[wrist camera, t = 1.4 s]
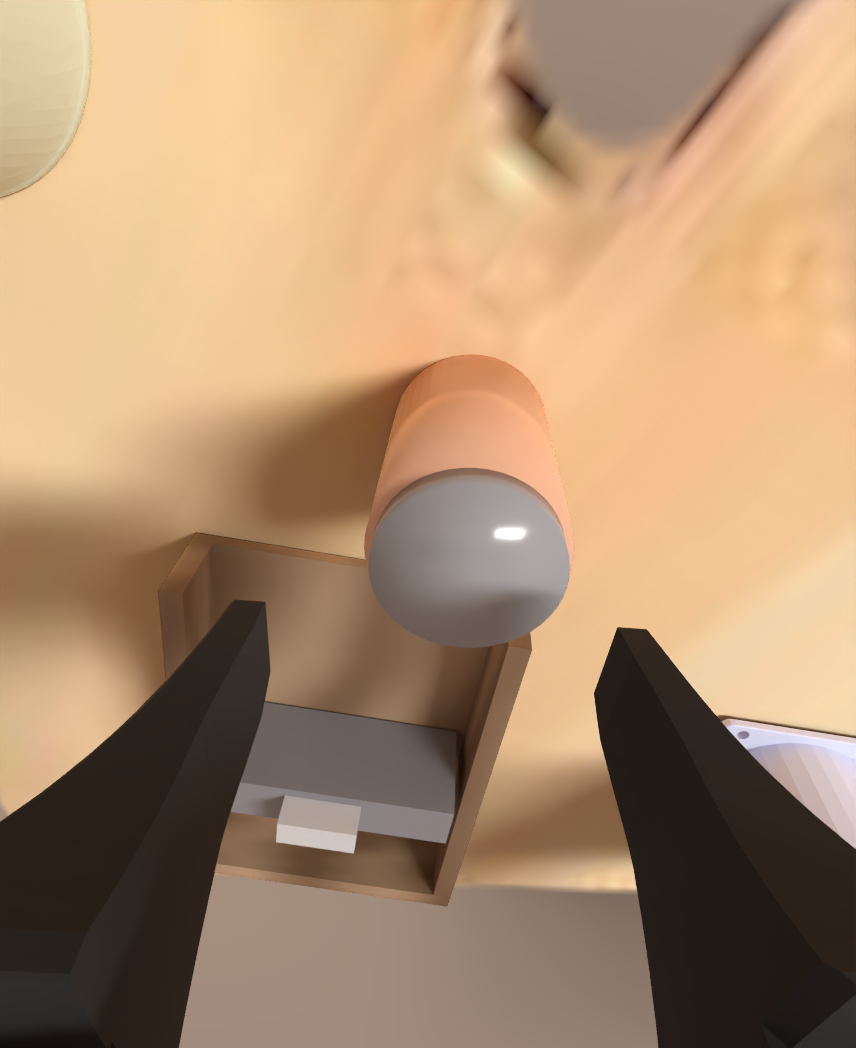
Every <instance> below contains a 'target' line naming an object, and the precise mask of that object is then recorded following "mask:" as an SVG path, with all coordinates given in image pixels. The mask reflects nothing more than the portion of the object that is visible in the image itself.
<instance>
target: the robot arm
mask: <svg viewBox="0 0 856 1048" xmlns="http://www.w3.org/2000/svg"><path fill="white" fill-rule="evenodd" d="M270 672H271V669H270V656H269V642H268V629H267V616H266V603H265V602H262V601H248V600H234V601H232V602H231V603H230V604H229V605H228V607H227V608H226V609H225V611H224V612H223V613H222V615H221V616H220V617H219V619H218V620H217V621H216V623H215V624H214V625H213V626H212V628H211V629H210V630H209V631H208V633H207V634H206V635H205V636H204V638H203V639H202V640H201V641H200V642H199V644H198V645H197V646H196V647H195V649H194V650H193V651H192V652H191V653H190V654H189V655H188V657H187V658H186V659H185V660H184V661H183V662H182V663H181V665H180V666H179V667H178V668H177V669H176V670H175V671H174V673H173V674H172V675H171V676H170V677H169V678H168V679H167V680H166V681H165V683H164V684H163V685H162V686H161V687H160V688H159V689H158V690H157V691H156V692H155V693H154V694H153V695H152V696H151V697H150V698H149V699H148V700H147V701H146V702H145V703H144V704H143V705H142V706H141V707H140V708H139V709H138V710H137V711H136V712H135V713H134V714H133V715H132V716H131V717H130V718H129V719H128V720H127V721H126V722H125V723H124V724H123V725H122V726H121V727H120V728H119V729H117V730H116V731H115V732H114V733H113V734H112V735H111V736H110V737H109V738H107V739H106V740H105V741H104V742H103V743H102V744H101V745H100V746H98V747H97V748H96V749H95V750H94V751H93V752H92V753H90V754H89V755H88V756H87V757H85V758H84V759H83V760H82V761H81V762H79V763H78V764H77V765H76V766H74V767H73V768H72V769H71V770H70V771H68V772H67V773H66V774H65V775H63V776H62V777H61V778H60V779H58V780H57V781H56V782H54V783H53V784H52V785H51V786H49V787H48V788H47V789H45V790H44V791H43V792H41V793H40V794H39V795H37V796H36V797H34V798H33V799H32V800H30V801H29V802H27V803H26V804H25V805H23V806H22V807H20V808H19V809H17V810H16V811H15V812H13V813H12V814H10V815H9V816H8V817H6V818H5V819H3V820H2V821H0V1048H179V1043H180V1038H181V1032H182V1027H183V1021H184V1016H185V1011H186V1006H187V1001H188V996H189V991H190V986H191V981H192V976H193V971H194V965H195V961H196V956H197V951H198V946H199V941H200V937H201V932H202V927H203V922H204V918H205V913H206V909H207V904H208V899H209V895H210V890H211V886H212V881H213V877H214V873H215V868H216V864H217V859H218V855H219V851H220V846H221V842H222V839H223V835H224V832H225V828H226V825H227V821H228V818H229V815H230V812H231V809H232V806H233V803H234V800H235V797H236V794H237V791H238V788H239V785H240V782H241V779H242V776H243V773H244V769H245V766H246V763H247V760H248V757H249V754H250V751H251V748H252V745H253V742H254V739H255V736H256V733H257V730H258V726H259V723H260V720H261V716H262V712H263V707H264V702H265V698H266V692H267V687H268V682H269V677H270ZM594 697H595V705H596V713H597V721H598V727H599V734H600V741H601V744H602V748H603V752H604V756H605V760H606V764H607V768H608V771H609V775H610V779H611V783H612V786H613V790H614V794H615V798H616V801H617V805H618V809H619V812H620V816H621V820H622V823H623V827H624V831H625V835H626V838H627V842H628V846H629V850H630V855H631V859H632V864H633V868H634V874H635V880H636V886H637V892H638V898H639V904H640V910H641V916H642V923H643V930H644V936H645V943H646V950H647V957H648V964H649V970H650V979H651V987H652V995H653V1003H654V1011H655V1019H656V1027H657V1036H658V1047H659V1048H856V738H851V737H844V736H838V735H831V734H825V733H819V732H812V731H806V730H799V729H793V728H787V727H780V726H774V725H768V724H761V723H755V722H748V721H742V720H736V719H726V720H723V721H720V720H719V719H718V717H717V716H716V715H715V714H714V713H713V711H712V710H711V709H710V708H709V707H708V706H707V704H706V703H705V702H704V701H703V700H702V698H701V697H700V696H699V695H698V694H697V692H696V691H695V690H694V689H693V687H692V686H691V685H690V684H689V682H688V681H687V680H686V679H685V677H684V676H683V675H682V674H681V672H680V671H679V670H678V669H677V667H676V666H675V665H674V663H673V662H672V661H671V660H670V658H669V657H668V656H667V655H666V653H665V652H664V651H663V649H662V648H661V647H660V646H659V644H658V643H657V642H656V641H655V639H654V638H653V637H652V635H651V634H650V633H649V632H648V630H647V629H633V628H620V627H618V628H617V630H616V633H615V636H614V639H613V642H612V644H611V647H610V650H609V653H608V656H607V658H606V661H605V664H604V667H603V670H602V673H601V675H600V678H599V681H598V684H597V687H596V689H595V692H594Z"/></svg>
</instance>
